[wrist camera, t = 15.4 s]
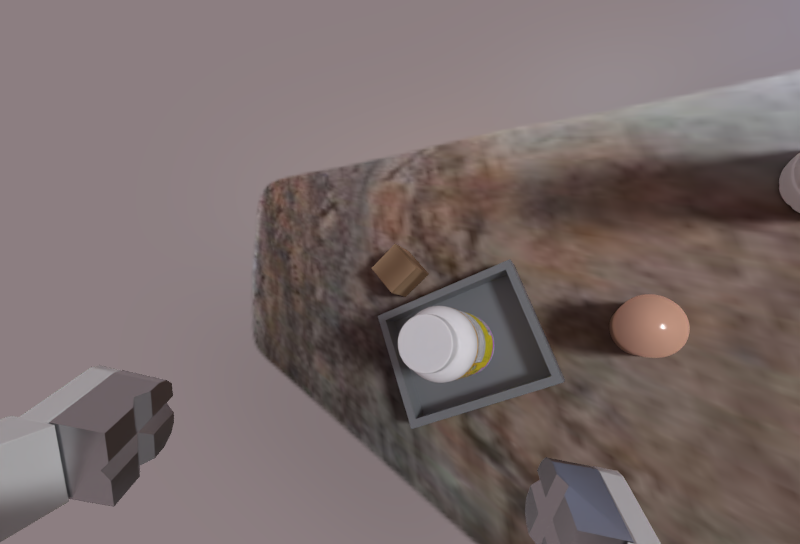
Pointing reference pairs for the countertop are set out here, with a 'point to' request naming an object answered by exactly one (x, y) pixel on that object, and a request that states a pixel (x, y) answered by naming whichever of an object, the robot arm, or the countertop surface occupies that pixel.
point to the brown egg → (649, 326)
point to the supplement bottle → (445, 344)
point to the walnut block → (399, 271)
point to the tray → (513, 347)
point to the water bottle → (791, 183)
